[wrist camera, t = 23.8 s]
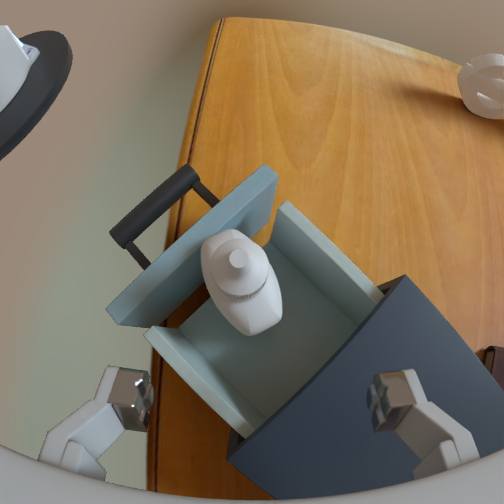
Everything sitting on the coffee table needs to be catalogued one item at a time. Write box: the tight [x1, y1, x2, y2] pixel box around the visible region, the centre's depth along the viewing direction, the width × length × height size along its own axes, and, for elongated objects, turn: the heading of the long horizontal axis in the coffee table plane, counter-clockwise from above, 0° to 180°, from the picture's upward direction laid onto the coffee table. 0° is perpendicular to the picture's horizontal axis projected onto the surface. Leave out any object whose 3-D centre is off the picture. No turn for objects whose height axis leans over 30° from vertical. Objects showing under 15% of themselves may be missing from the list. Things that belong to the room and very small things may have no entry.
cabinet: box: [226, 275, 504, 500], centre depth 18 cm, size 16×14×10 cm
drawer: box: [106, 164, 384, 439], centre depth 21 cm, size 19×12×8 cm, turn 45°
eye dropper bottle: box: [201, 229, 282, 336], centre depth 18 cm, size 4×6×12 cm
